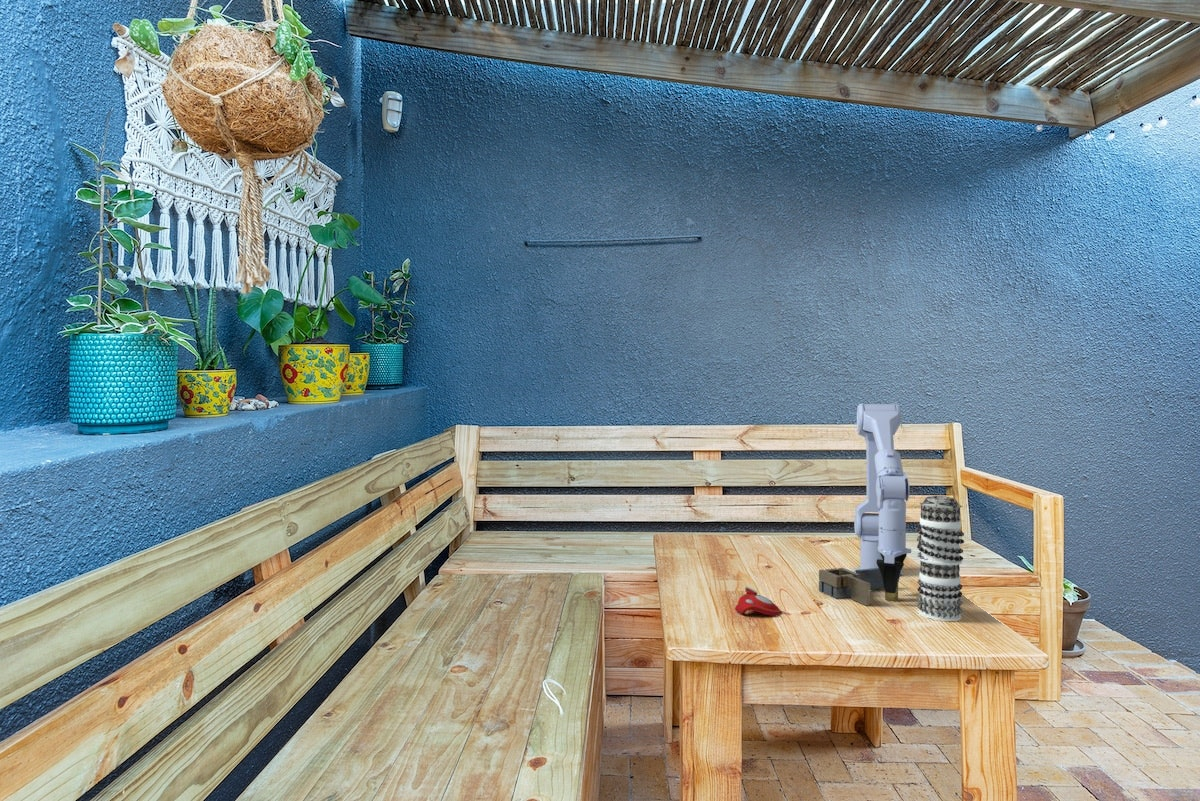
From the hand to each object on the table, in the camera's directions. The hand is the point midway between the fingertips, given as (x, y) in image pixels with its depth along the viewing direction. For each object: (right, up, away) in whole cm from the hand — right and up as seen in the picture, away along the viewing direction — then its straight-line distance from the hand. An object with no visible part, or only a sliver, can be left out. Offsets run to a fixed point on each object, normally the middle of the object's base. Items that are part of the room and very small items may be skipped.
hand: (891, 588), depth 163 cm
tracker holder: (-32, -4, -6) cm, 32 cm away
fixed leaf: (-6, -3, +7) cm, 9 cm away
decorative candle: (+6, -3, -11) cm, 12 cm away
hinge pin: (0, -3, 0) cm, 3 cm away
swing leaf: (-9, -2, +2) cm, 10 cm away
